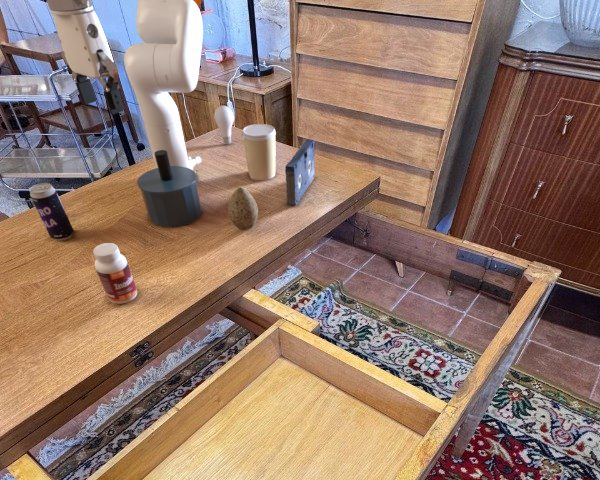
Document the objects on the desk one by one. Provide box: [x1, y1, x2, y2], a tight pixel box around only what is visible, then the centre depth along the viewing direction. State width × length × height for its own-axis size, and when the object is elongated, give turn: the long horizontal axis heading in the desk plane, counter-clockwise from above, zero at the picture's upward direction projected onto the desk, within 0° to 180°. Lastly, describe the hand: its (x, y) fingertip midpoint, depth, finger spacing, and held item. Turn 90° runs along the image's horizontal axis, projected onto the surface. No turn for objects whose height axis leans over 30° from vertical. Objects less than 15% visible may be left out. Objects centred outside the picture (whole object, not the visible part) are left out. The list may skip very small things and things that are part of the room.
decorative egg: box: [227, 187, 259, 231], centre depth 107 cm, size 7×7×10 cm
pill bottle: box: [92, 242, 138, 305], centre depth 90 cm, size 6×6×11 cm
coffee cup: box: [241, 123, 277, 181], centre depth 126 cm, size 9×9×12 cm
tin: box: [140, 182, 202, 228], centre depth 113 cm, size 14×14×8 cm
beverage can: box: [28, 182, 74, 242], centre depth 105 cm, size 6×6×12 cm
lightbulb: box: [213, 105, 235, 146], centre depth 141 cm, size 6×6×11 cm
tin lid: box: [136, 150, 198, 195], centre depth 107 cm, size 15×15×7 cm
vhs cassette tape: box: [284, 139, 316, 207], centre depth 119 cm, size 18×3×10 cm, turn 161°
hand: (103, 107), depth 94 cm, fingers open, 9 cm apart
